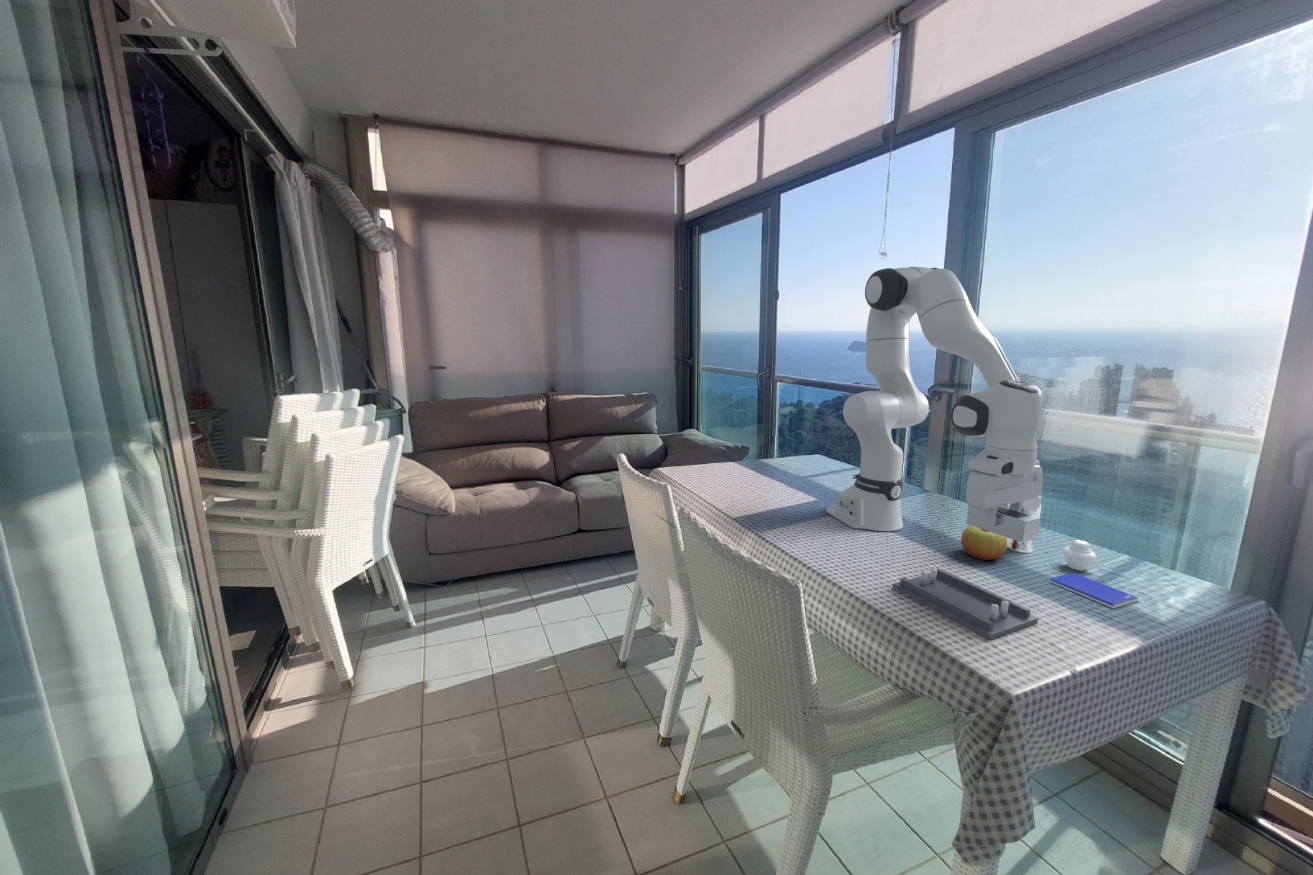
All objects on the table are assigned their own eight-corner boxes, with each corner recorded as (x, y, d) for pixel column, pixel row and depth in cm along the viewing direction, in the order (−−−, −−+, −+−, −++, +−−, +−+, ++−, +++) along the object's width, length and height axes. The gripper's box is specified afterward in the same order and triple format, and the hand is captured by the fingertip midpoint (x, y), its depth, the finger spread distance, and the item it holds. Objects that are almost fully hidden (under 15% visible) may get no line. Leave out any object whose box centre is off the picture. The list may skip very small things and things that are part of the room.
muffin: (1059, 568, 126) (1064, 540, 125) (1061, 559, 131) (1066, 533, 129) (1093, 576, 122) (1098, 547, 121) (1094, 567, 127) (1099, 539, 125)
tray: (892, 587, 117) (894, 571, 116) (936, 575, 122) (938, 559, 122) (990, 640, 97) (992, 620, 96) (1037, 622, 103) (1040, 603, 102)
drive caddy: (966, 523, 118) (968, 503, 117) (981, 520, 120) (983, 500, 119) (1022, 542, 107) (1025, 520, 106) (1037, 538, 109) (1040, 516, 108)
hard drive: (1138, 596, 111) (1074, 572, 122) (1113, 603, 108) (1050, 577, 119) (1137, 603, 111) (1073, 578, 122) (1112, 610, 108) (1049, 584, 120)
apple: (950, 551, 136) (953, 522, 134) (976, 545, 140) (979, 516, 138) (987, 567, 127) (991, 535, 125) (1013, 560, 131) (1018, 529, 129)
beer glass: (999, 548, 137) (1007, 493, 134) (1005, 540, 142) (1012, 487, 139) (1032, 556, 133) (1040, 498, 130) (1037, 548, 138) (1045, 492, 135)
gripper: (1024, 451, 117) (1016, 511, 120) (963, 461, 109) (955, 525, 112) (1055, 457, 112) (1046, 520, 115) (993, 468, 103) (985, 535, 106)
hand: (1001, 523), depth 113 cm, fingers closed on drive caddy, 5 cm apart
